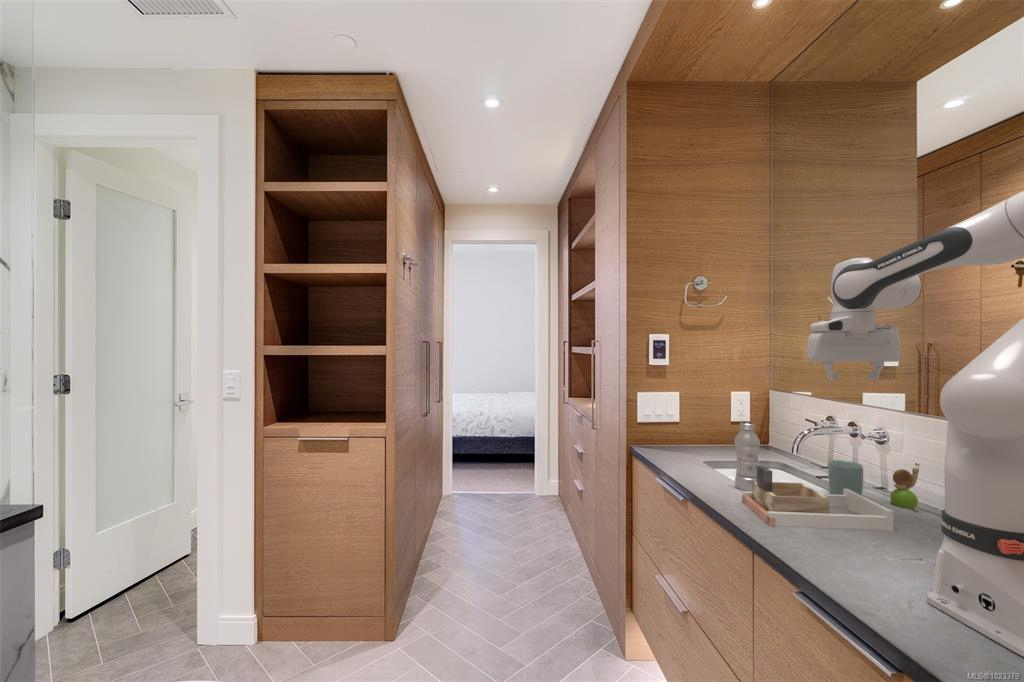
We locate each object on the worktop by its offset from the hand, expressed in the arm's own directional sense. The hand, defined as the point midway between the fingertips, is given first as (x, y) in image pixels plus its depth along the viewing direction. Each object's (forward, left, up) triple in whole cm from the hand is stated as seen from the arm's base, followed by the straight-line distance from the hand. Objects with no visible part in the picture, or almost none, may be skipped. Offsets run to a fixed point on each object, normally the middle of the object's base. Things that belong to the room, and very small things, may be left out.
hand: (853, 380), depth 113 cm
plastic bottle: (+16, +19, -34) cm, 42 cm away
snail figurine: (+6, -16, -34) cm, 38 cm away
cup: (+12, -5, -34) cm, 36 cm away
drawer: (-4, +17, -33) cm, 37 cm away
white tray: (-4, +12, -34) cm, 36 cm away
